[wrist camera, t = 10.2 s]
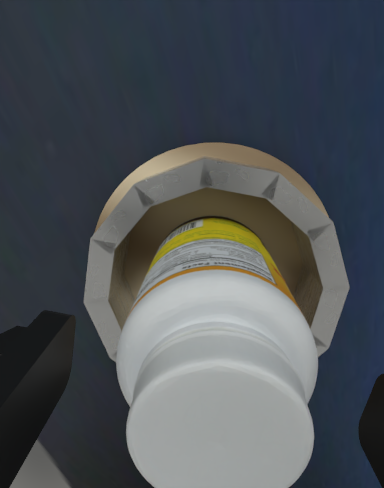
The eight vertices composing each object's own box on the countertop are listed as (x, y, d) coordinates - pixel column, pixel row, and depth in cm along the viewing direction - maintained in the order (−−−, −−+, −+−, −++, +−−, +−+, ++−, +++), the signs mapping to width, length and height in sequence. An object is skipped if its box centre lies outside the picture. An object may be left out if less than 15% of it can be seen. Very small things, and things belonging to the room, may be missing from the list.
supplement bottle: (250, 328, 18) (301, 562, 8) (145, 303, 18) (67, 509, 8) (285, 227, 16) (403, 366, 6) (169, 198, 16) (109, 294, 6)
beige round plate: (111, 120, 16) (105, 119, 15) (361, 168, 16) (370, 170, 15) (87, 341, 20) (81, 351, 19) (294, 379, 20) (298, 391, 19)
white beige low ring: (120, 139, 15) (100, 138, 13) (349, 183, 16) (382, 192, 13) (96, 342, 18) (75, 379, 15) (288, 377, 19) (304, 420, 16)
